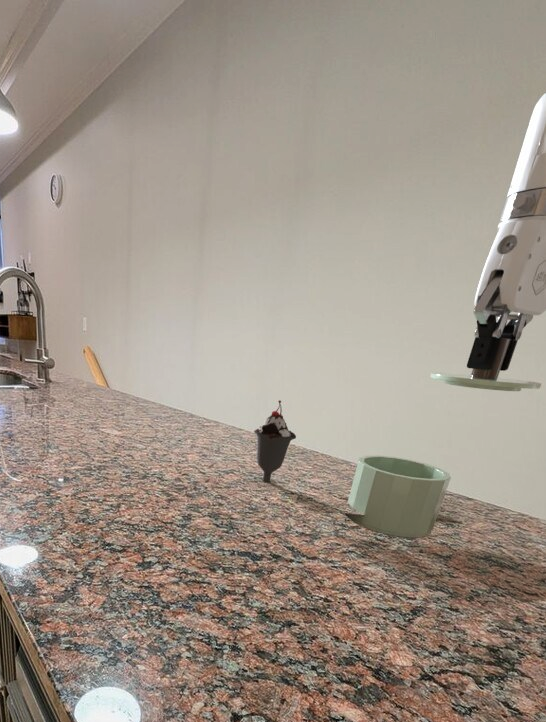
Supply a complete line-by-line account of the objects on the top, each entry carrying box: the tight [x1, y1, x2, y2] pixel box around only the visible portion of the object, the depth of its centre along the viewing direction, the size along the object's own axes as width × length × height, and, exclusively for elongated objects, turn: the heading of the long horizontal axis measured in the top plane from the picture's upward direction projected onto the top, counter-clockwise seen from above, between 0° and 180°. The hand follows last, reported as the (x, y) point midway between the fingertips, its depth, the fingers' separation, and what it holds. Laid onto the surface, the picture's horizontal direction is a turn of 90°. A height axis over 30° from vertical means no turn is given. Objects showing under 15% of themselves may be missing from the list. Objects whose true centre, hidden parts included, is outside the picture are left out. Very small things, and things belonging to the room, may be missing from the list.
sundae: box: [253, 399, 297, 483], centre depth 73 cm, size 7×7×15 cm
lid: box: [429, 338, 542, 392], centre depth 62 cm, size 13×13×6 cm
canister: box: [345, 455, 452, 539], centre depth 66 cm, size 12×12×8 cm
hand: (486, 368), depth 62 cm, fingers closed on lid, 3 cm apart
